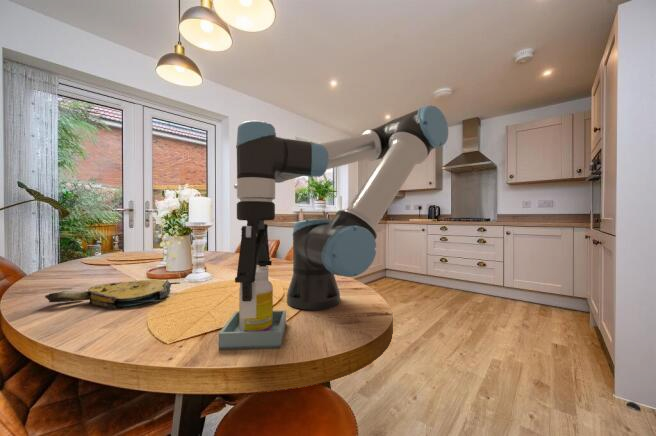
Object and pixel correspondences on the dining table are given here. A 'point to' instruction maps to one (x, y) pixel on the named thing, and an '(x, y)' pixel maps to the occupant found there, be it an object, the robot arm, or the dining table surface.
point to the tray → (252, 334)
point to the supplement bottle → (260, 305)
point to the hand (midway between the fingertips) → (256, 305)
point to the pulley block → (118, 294)
